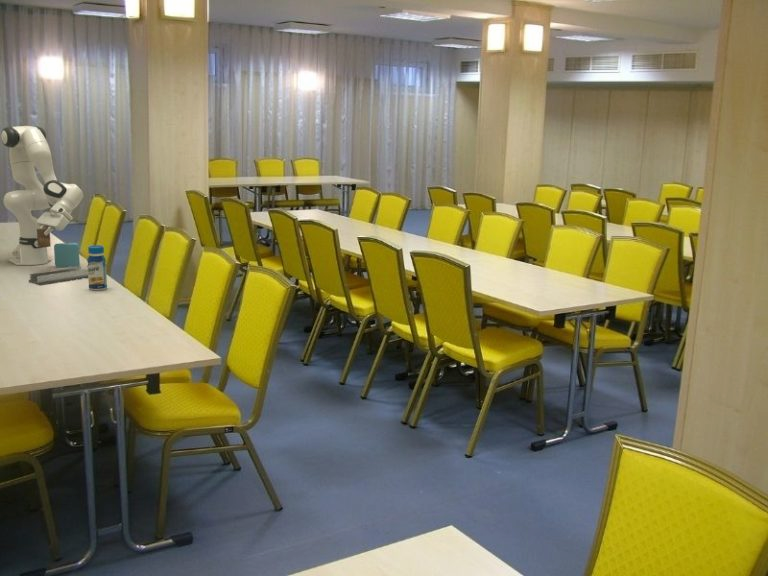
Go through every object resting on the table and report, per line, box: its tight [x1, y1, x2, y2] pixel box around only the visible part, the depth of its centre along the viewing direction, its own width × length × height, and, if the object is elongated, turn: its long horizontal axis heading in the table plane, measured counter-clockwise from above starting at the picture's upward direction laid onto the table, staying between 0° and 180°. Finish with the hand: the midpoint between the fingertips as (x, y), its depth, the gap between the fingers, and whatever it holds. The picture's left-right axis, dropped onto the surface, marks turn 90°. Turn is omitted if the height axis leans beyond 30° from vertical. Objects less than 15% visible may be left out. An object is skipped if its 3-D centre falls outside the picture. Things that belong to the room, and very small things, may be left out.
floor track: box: [28, 266, 88, 286], centre depth 403 cm, size 11×26×4 cm, turn 140°
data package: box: [53, 242, 81, 268], centre depth 435 cm, size 12×4×12 cm, turn 113°
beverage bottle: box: [86, 244, 108, 291], centre depth 384 cm, size 8×8×20 cm
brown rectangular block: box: [37, 228, 52, 248], centre depth 407 cm, size 3×5×9 cm, turn 140°
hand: (42, 234), depth 406 cm, fingers closed on brown rectangular block, 3 cm apart
